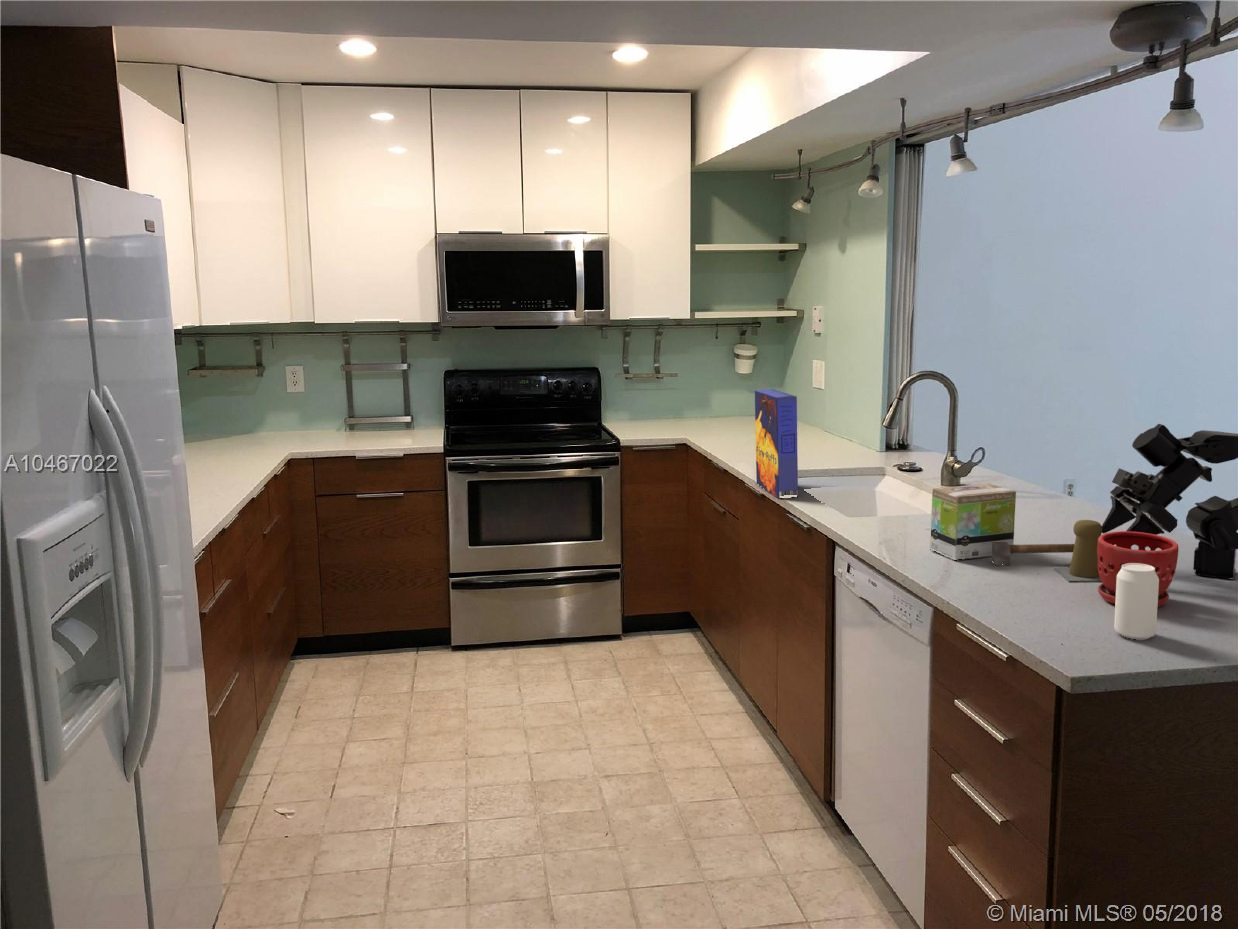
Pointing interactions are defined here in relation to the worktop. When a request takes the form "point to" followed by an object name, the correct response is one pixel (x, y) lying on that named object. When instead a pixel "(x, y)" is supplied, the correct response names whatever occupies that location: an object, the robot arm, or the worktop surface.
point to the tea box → (971, 519)
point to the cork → (1086, 549)
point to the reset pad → (1070, 577)
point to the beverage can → (1136, 601)
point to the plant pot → (1135, 559)
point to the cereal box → (776, 442)
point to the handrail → (1025, 550)
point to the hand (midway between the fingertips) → (1110, 537)
